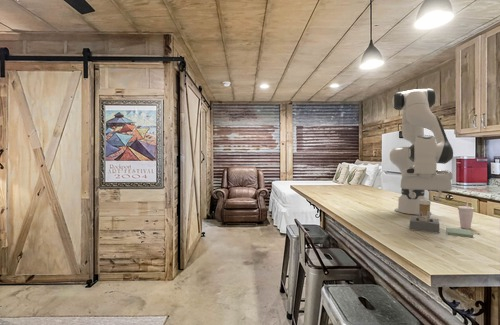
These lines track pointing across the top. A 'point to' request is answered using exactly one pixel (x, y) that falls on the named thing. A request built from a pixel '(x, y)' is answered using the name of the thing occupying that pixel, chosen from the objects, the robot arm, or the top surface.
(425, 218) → the sprinkles bottle
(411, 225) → the socket block
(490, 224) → the top surface
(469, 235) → the rubber mat
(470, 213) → the smoothie
